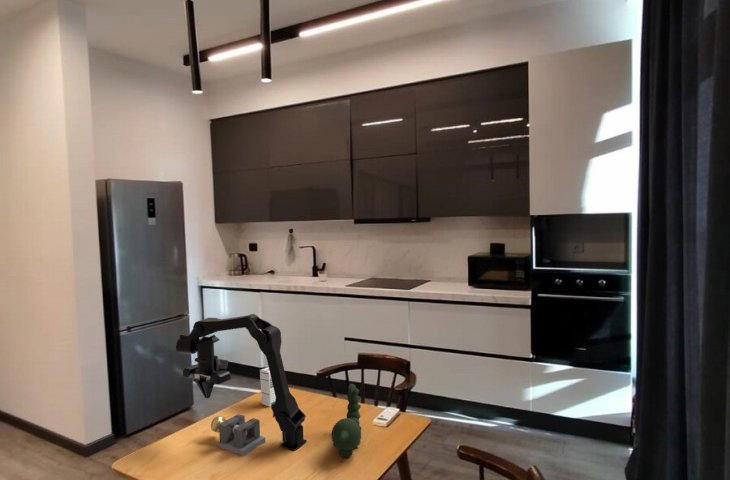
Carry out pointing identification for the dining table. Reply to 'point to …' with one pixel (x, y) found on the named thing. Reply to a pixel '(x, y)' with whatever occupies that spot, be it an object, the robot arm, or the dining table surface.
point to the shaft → (219, 420)
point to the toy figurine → (348, 426)
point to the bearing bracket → (240, 435)
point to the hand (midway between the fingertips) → (207, 397)
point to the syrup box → (267, 388)
